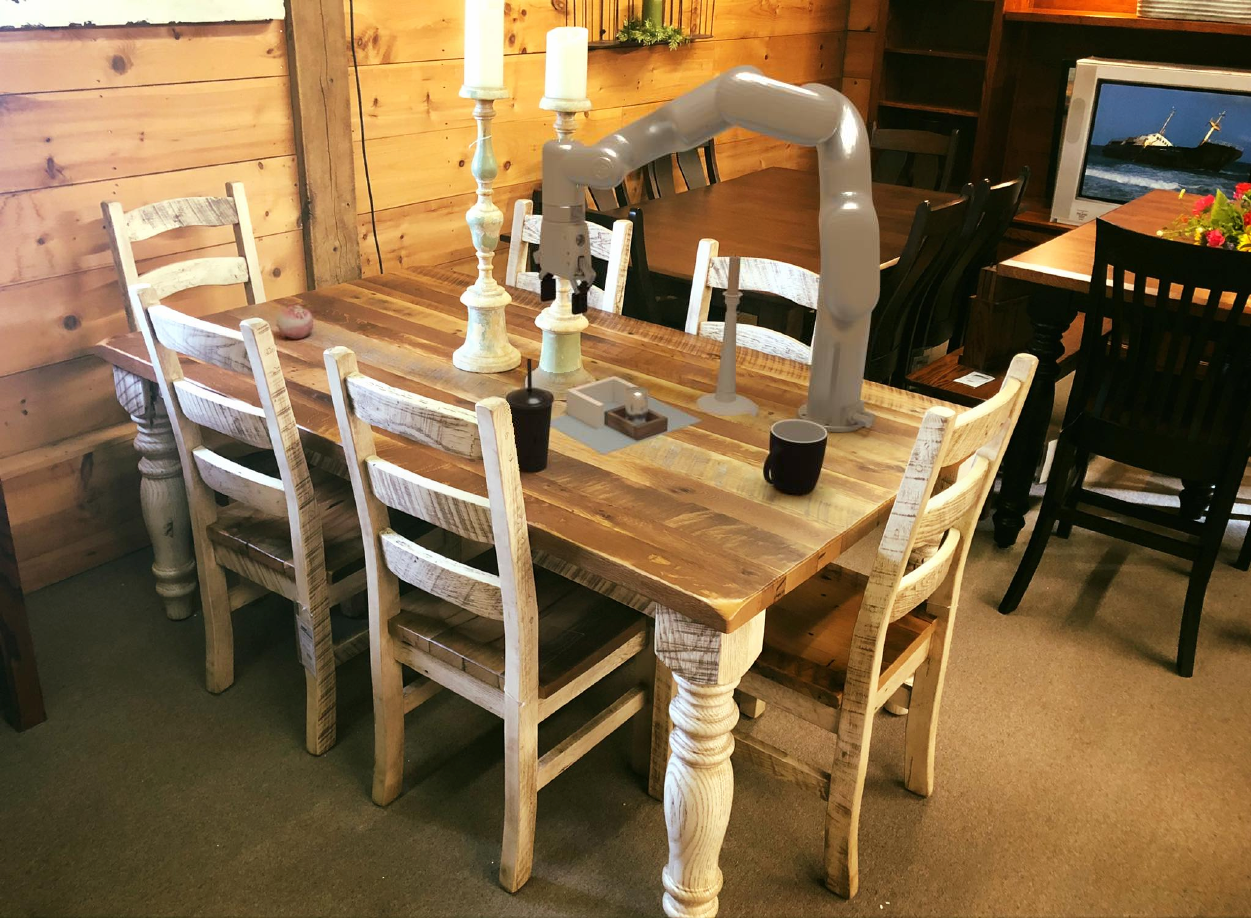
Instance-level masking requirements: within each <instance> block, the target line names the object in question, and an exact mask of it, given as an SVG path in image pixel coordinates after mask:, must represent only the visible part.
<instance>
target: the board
mask: <svg viewBox="0 0 1251 918" xmlns="http://www.w3.org/2000/svg"><path fill="white" fill-rule="evenodd" d="M620 406H622V405H620V404H617V403H615V402H611V403H608V404H604V411H608V410H611V409H614V408H617V407H620ZM648 409H650V410H652V411H654V412H656V413H658V414H661V415H663V416H665V417H667V418H668V427H667V431H666V432H663V433H660V434H657V435H654V436H651V437H648V438H645V439H642V440H639V441H636V440H634V439H632V438H630V437H628V436H626V435H624V434H622V433H620V432H618V431H616V430H614V429H613V428H611V427H609V426H607V425H605V424H604V428H601V429H597V428H595V427H593V426H591V425H589V424H587V423H585V422H583V421H581V420H579V419H577V418H575V417H574V416H572V415H570V414H568V413H566V414H564V415H560V416H557V417H555V418H551V423H550V428H553V429H555V430H557V431H559V432H560V433H563V434H564V435H566V436H567V437H570V438H571V439H573V440H575V441H578V442H579V443H581V444H583V445H585V446H586V447H587V448H590V449H592V450H594V451H596V452H597V453H599V454H602V455H606V454H610V453H613V452H616V451H619V450H622V449H624V448H627V447H630V446H633V445H636V444H639V443H641V442H645V441H647V440H650V439H653V438H656V437H659V436H662V435H664V434H668V433H670V432H673V431H676V430H680V429H682V428H686V427H688V426H691V425H694V424H696V423H700V422H702V420H701V419H699V418H697V417H695V416H693V415H691V414H689V413H686V412H685V411H682V410H679V409H677V408H676V407H673V406H671V405H668V404H667V403H665V402H663V401H660V400H658V399H656V398H654V397H651V396H649V395H648Z"/></svg>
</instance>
